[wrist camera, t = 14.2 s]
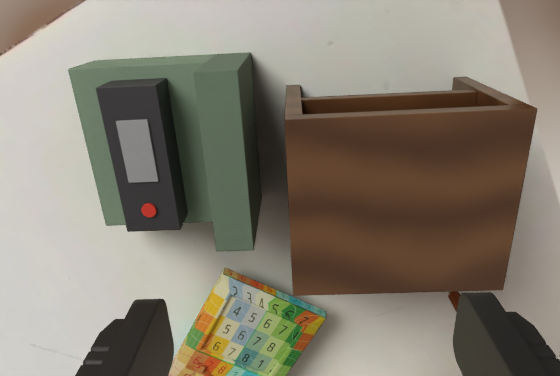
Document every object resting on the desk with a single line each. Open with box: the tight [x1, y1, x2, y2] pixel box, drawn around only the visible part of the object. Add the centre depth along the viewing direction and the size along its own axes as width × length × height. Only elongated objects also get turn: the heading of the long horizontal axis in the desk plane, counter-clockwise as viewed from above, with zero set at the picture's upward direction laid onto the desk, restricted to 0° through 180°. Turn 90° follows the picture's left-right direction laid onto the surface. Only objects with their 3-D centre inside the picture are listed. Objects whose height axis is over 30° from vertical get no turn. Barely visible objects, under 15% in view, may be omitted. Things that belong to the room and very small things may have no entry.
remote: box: [96, 78, 188, 232], centre depth 35 cm, size 12×4×3 cm, turn 3°
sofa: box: [68, 53, 262, 251], centre depth 36 cm, size 14×14×10 cm
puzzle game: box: [168, 268, 326, 376], centre depth 49 cm, size 12×5×20 cm
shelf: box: [285, 77, 537, 296], centre depth 36 cm, size 14×16×12 cm
